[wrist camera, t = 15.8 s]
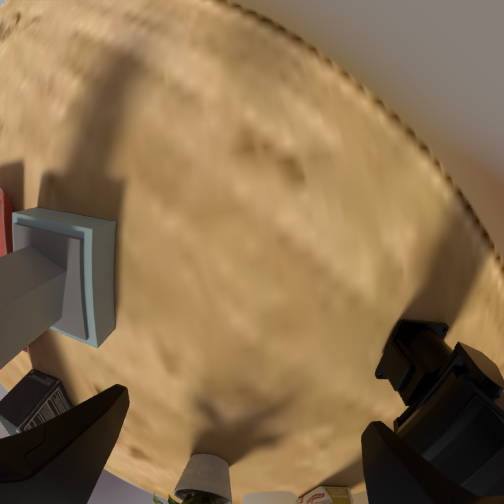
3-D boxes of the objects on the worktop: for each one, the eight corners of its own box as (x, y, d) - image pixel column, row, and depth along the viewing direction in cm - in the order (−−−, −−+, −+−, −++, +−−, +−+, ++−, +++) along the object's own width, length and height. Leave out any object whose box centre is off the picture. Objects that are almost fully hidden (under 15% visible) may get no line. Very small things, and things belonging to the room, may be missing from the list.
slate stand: (116, 221, 20) (88, 230, 16) (115, 328, 22) (94, 351, 18) (36, 207, 20) (8, 213, 16) (41, 300, 22) (18, 316, 18)
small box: (30, 366, 25) (-11, 407, 15) (60, 378, 25) (18, 428, 15) (56, 417, 28) (26, 458, 18) (86, 429, 28) (58, 477, 17)
